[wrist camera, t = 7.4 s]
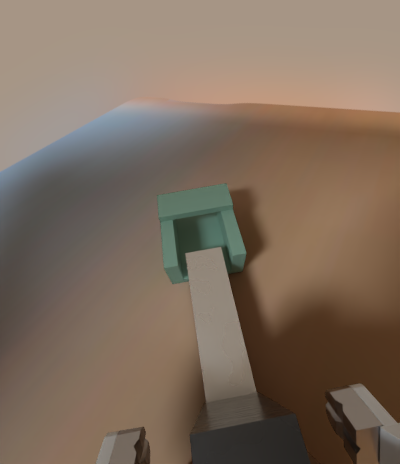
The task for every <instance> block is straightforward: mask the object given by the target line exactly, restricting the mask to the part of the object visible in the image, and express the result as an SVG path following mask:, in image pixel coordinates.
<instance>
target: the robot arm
mask: <svg viewBox="0 0 400 464" xmlns="http://www.w3.org/2000/svg"><path fill="white" fill-rule="evenodd" d="M325 398H326V399H327V401H328V403H327V404H326V413H327V416H328V419H329V421H330V423H331V425H332V427H333V429H334V431H335V432H336V434H337V435H339V436H340V437H342V438H343V439H344V447H345V449H346V451H347V452H348V454H349V456H350V457H351V459H352V460H353V462H354V464H400V423H397V422H396V421H395V420H394V419H393V417H392V416H391V415H390V414H389V413H388V412H387V411H386V410H385V409H384V407H383V406H382V405H381V404H380V403H379V402H378V401H377V400H376V399H375V397H374V396H373V395H372V394H371V393H370V392H369V391H368V390H367V389H366V387H365V386H364V385H362V384H361V383H359V384H354V385H349V386H343V387H338V388H333V389H329V390H326V391H325ZM145 435H146V431H145V429H144V427H139V428H133V429H127V430H121V431H115V432H110V433H107V435H106V436H105V438H104V441H103V444H102V447H101V450H100V453H99V456H98V459H97V462H96V464H150V446H149V442H148V440H146V439H145Z"/></svg>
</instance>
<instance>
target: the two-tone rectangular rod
mask: <svg viewBox="0 0 400 464" xmlns="http://www.w3.org/2000/svg"><path fill="white" fill-rule="evenodd" d="M185 255H186V262H187V269H188V276H189V283H190V291H191V298H192V305H193V312H194V319H195V326H196V333H197V341H198V348H199V355H200V362H201V369H202V376H203V383H204V390H205V398H206V403H204V405H203V407H202V409H201V411H200V414H199V416H198V418H197V420H196V422H195V424H194V427H193V429H192V431H191V433H190V442H191V452H192V462H193V464H311V463H310V460H309V457H308V453H307V450H306V447H305V444H304V441H303V437H302V434H301V431H300V428H299V424H298V421H297V418H296V415H295V413H293V412H292V411H290V410H288V409H286V408H285V407H283V406H281V405H280V404H278V403H276V402H274V401H273V400H271V399H269V398H267V397H266V396H264V395H262V394H261V393H259V392H258V393H257V392H256V388H255V383H254V379H253V375H252V371H251V367H250V363H249V359H248V355H247V351H246V347H245V343H244V339H243V335H242V331H241V326H240V322H239V318H238V314H237V310H236V306H235V302H234V298H233V294H232V290H231V286H230V282H229V278H228V274H227V269H226V265H225V261H224V257H223V253H222V249H221V247H217V248H212V249H206V250H201V251H195V252H190V253H185Z"/></svg>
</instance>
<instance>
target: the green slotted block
mask: <svg viewBox="0 0 400 464" xmlns="http://www.w3.org/2000/svg"><path fill="white" fill-rule="evenodd" d="M157 201H158V215H159V220H160V223H161V236H162V249H163V262H164V269H165V271H166V273H167V275H168V276H169V278H170V280H171V282H172V284H176V283H181V282H187V281H189V276H188V269H187V262H186V255H185V253H190V252H195V251H201V250H206V249H212V248H217V247H221V249H222V253H223V257H224V261H225V265H226V269H227V274H230V273H236V272H241V271H243V266H244V262H245V258H246V250H245V247H244V243H243V240H242V237H241V234H240V231H239V228H238V224H237V221H236V218H235V215H234V212H233V203H232V199H231V196H230V193H229V190H228V187H227V184H226V183H225V184H219V185H214V186H208V187H202V188H196V189H191V190H185V191H179V192H173V193H168V194H162V195H157Z"/></svg>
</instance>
